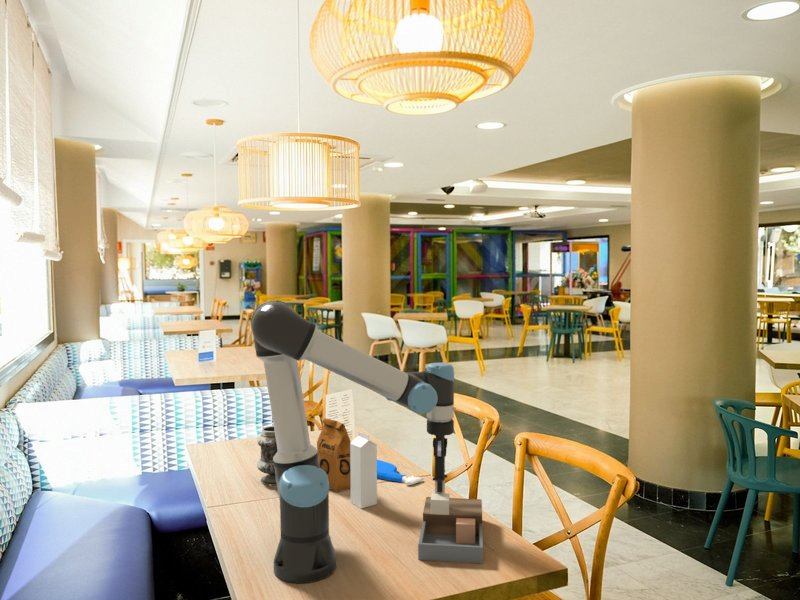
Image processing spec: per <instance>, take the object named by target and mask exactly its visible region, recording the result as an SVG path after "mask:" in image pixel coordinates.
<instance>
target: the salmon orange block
mask: <svg viewBox="0 0 800 600" xmlns="http://www.w3.org/2000/svg"><path fill="white" fill-rule="evenodd" d="M456 543H473V544H475V519H472V518H456Z"/></svg>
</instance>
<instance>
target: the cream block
mask: <svg viewBox="0 0 800 600" xmlns="http://www.w3.org/2000/svg"><path fill="white" fill-rule="evenodd" d="M430 497H431V511H430V514H438V515H449V498H450V493H448V492H447V493H446V492H445V493H435V492H431V495H430Z"/></svg>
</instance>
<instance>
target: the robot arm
mask: <svg viewBox="0 0 800 600" xmlns="http://www.w3.org/2000/svg"><path fill="white" fill-rule="evenodd" d="M250 328H251V332H252V337H253V342H254V349H255V355H256V356H255V357H256V359H257V358H258V359H259V360H260V361H262V362H263V366H264V372H265V378H266V385H267V391H268V392H267V393H268V397H269V405H270V409H271V411H270V412H271V417H272V423H273V424H272V425H273V426H274V430H275V437H276V443H277V449H278V451H277V453H276V454H275V456H274V457H273V462H274V468H275V474H276V485H275V486H276V488H277V494H278V500H279V506H280V507H279V510H280V514H279V515H280V517H279V518H280V539H279V543H278V546H277V548H276V553H275V555H274V558H273V574H274V575H275V576H276V577H277V578H278V579H280V580H282V581H285V582H287V583H288V582H289V583H297V584H302V583H303V584H304V583H313V582H316V581H319V580H320V581H321V580H323V579H326V578H327V577H329V576H330V575H332V574H333V573H334V572H335V571H336V569H337V554H336V551H335V547H334V544H333V542H332V538H331V536H330V518H329V517H330V514H329V512H330V506H329V505H330V503H329V501H330V500H329V499H330V498H329V496H330V495H329V493H330V488H329V481H328V476H327V474H326V472H325V471H324V470H323V469H321V468H320V465H319V459H318V452H317V447H315V446H314V445H312V444H311V438H310V433H309V427H308V420H307V413H306V408H305V400H304V394H303V387H302V380H301V374H300V370H299V369H300V368H299V362H300V361H303V360H306V361H308V362H311V363H312V364H314V365H317V366H319V367H321V368H323V369H326V370H327V371H330V372H332V373H334V374H336V375H338V376H341V377H343V378H345V379H347V380H349V381H351V382H353V383H356V384H357V385H360V386H362V387H364V388H366V389H369V390H370V391H373V392H375V393H377V394H380V395H381V396H384V397H385V399H386V400H387V401H389V402H390V401H391V402H393V401H394V402H396V403H398V404H400V405H403V406H405V407H407V408H408V409H410V410H411V411H413V412H414V413H417V414H419V415H425V414H426V418H427V420H426V432H427V434H429V435H431V436H435V437H433V439H432V447H433V457H434V476H433V477H432V481H434V493H446V478H448V474H445V473H446V469H445V468H446V465H445V464H446V457H447V448H448V437H447V438H446V436H450V435H452V434H454V433H455V432H454V431H455V423H454V422H455V420H454V416H455V415H454V414H455V413H454V412H455V411H456V410H457V407H454V405H455V404H454V403H455V401H454V399H455V393H454V392H455V371H454V366H453V365H452V364H450V363H448V362H431V363H428V364H427V365H426V370H424V371H407V372H405V371H403V370H400V369H399V368H396V367H395V366H393V365H390V364H388V363H386V362H385V361H382V360H380V359H379V358H376V357H374V356H372V355H370V354H368V353H366V352H363V351H362V350H359V349H358V348H355V347H353V346H351V345H350V344H348V343H344V341H341V340H339V339H337V338H334V337H332V336H330V335H328V334H327V333H324V332H322V331H320V330H319V327H318V325H317V324H315V323H313V322H311V321H310V320H307V319H306V318H304V317H303V316H302V315H300V314H299V313H298V312H296V310H294V309H293V307H292V306H291V305H290V304H288V303H287V302H285V301H283V300H282V301H281V300H269V301H265V302H262V303H261V304H259V305H258V306H257V307H256V308H255V309H254V311H253V313H252V315H251V318H250ZM298 361H299V362H298Z"/></svg>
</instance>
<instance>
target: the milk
mask: <svg viewBox="0 0 800 600" xmlns="http://www.w3.org/2000/svg"><path fill="white" fill-rule="evenodd" d="M350 442H351V443H350V477H351V489H350V504H352V505H354V506H356V507H358V508H359V509H365V508H367V507H371V506H372V507H373V506H375V505H377V504H378V479H377V460H378V454H377V453H378V451H377V450H378V444H377V443H375V442H373V441H372V440H370V435H368V434H366V433H364V432H361V431H358V432H357V437H355V438H354V439H353V440H351V441H350Z"/></svg>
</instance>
